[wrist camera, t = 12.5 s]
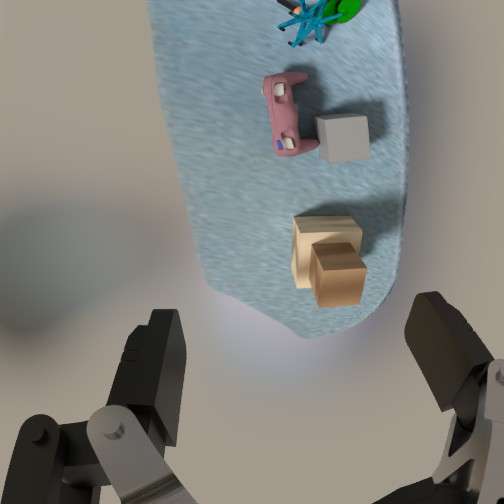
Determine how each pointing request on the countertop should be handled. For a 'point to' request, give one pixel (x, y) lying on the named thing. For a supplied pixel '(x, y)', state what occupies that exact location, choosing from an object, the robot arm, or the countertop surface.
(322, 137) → the grey cube
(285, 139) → the video game controller
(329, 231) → the birch block
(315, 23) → the stick construction toy
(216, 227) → the countertop surface
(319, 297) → the walnut block
